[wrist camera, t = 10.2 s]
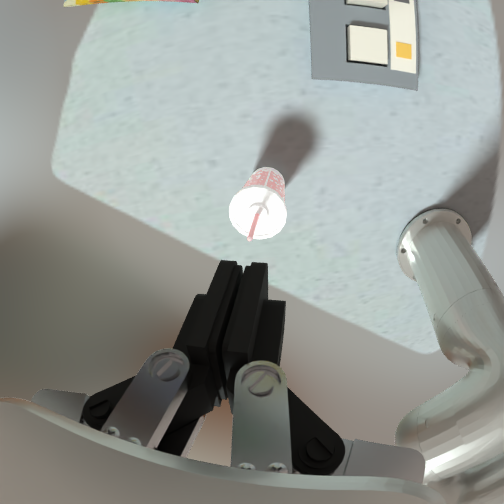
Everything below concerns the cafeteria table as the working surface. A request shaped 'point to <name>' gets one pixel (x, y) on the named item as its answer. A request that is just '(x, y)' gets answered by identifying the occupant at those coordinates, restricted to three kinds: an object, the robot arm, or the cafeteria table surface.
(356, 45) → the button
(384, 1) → the button middle
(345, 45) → the button board
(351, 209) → the cafeteria table surface
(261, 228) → the beverage cup
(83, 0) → the puzzle game
